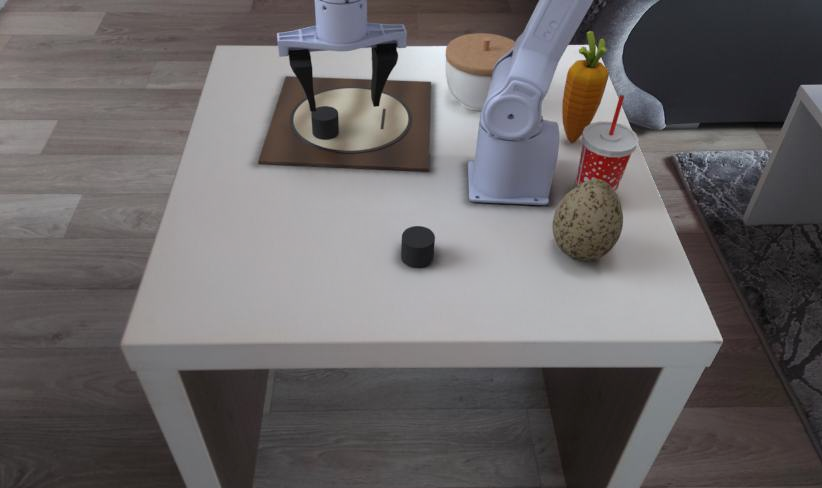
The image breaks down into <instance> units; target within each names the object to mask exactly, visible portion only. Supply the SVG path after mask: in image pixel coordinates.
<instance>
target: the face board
mask: <svg viewBox="0 0 822 488" xmlns="http://www.w3.org/2000/svg"><path fill="white" fill-rule="evenodd" d="M371 82H372V79H370V78H369V79H368V78H367V79H366V78H365V79H364V78H341V77H317V76H316V77H313V91H314V97H315V103H316V108H317V107H321V106H329V107H333V108H335V109H336V110H337V111H338V118H339V134H338V135H337V136H336V137H335V138H333V139H329V140H322V139H318V138H316V137H314V136H313V134H312V119H311V111H310V107H309V103H308V99H307V97H306V94H305V92H304V89H303V87H302V85H301V83H300V82H299V80H298V78H297V77H296V76H289V75H287V76H285V78H284V81H283V83H282V87H281V90H280V93H279V96H278V99H277V102H276V105H275V108H274V111H273V115H272V117H271V121H270V124H269V126H268V129H267V133H266V136H265V139H264V142H263V144H262V148H261V150H260V154H259V157H258V161H257V163H258V165H273V166H274V165H275V166H296V167H297V166H298V167H299V166H301V167H320V168H338V169H339V168H340V169H342V168H343V169H360V170H361V169H363V170H385V171H406V172H427V173H428V172H429V171H430V139H431V138H430V136H431V104H432V103H431V98H432V82H431V81H419V80H394V79H387V81H386V83H385V86H384V89H383V92H382V95H381V99H380V104H379V106H377V107H374V106H373V103H372V99H371Z"/></svg>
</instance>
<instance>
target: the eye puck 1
mask: <svg viewBox="0 0 822 488" xmlns="http://www.w3.org/2000/svg"><path fill="white" fill-rule="evenodd" d="M311 119H312V134H313V136H314V137H316V138H318V139H322V140H329V139H333V138H335V137H336V136H337V135H338V134H339V118H338V111H337V110H336V109H335V108H333V107H329V106H321V107H317V108H316V111H313V112H311Z"/></svg>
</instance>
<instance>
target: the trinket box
mask: <svg viewBox="0 0 822 488" xmlns="http://www.w3.org/2000/svg"><path fill="white" fill-rule="evenodd" d="M515 42H516V40H514V39H512V38H510V37H506V36H504V35H499V34H494V33H485V32H484V33H483V32H478V33H477V32H476V33H467V34H464V35H463V34H462V35H459V36H456V37H455V38H454V39H452V40H451V41H450V42H448V44H447V45H446V47H445V68H444V69H445V79H446V84H447V87H448V89H449V91H450V93H451V95H452V96H453V97H454V98H455V100H457V102H458V104H459V105H460V106H461V107H463V108H465V109H467V110H469V111H473V112H474V111H475V112H482V110H483V106H484V103H485V102H486V100H487V96H488V92H489V88H490V84H491V76H492V71H493V68H494V66H495V64H496V63H497V61H498V60H499V59H500V58H501V57H503V56H504V55H506V54H507V53H508V52H509V51H510V50H511V49H512V48H513V46H514V44H515Z"/></svg>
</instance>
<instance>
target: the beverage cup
mask: <svg viewBox="0 0 822 488" xmlns="http://www.w3.org/2000/svg"><path fill="white" fill-rule="evenodd" d="M624 99H625V95H623V94H620V95H619V97H618V101H617V104H616V106H615V107H616V108H615V111H614V114H613V118H612V121H596V122H591V123H590V124H589V125H588V126H586V127H585V128H584V131H583V133H582V136H581V137H580V138H581V142H582V146H581V152H580V155H579V156H580V157H579V161H578V168H577V172H576V177H575V182H574V183H575V185H574V188H575V187H576V186H578V185H579V184H581V183H583V182H585V181H588V180H592V179H601V180H603V181H605V182H607V183H608V184H609V185H610V186H611V187H612V188H613V190H614V191H615V193H616V194H617V191H618V188H619V186H620V183H621V181H622V178H623V176H624V173H625V170H626V168H627V166H628V163H629V162H630V158H631V156H632V154H633V153H635V152H636V148H637V146H638V143H639V140H640V139H639V137H638V134H637V133H636V132H635V131H634V130H633V129H632V128H630V127H628V126H626V125H623V124H621V123H618V119H619V116H620V112H621V110H622V105H623V102H624Z"/></svg>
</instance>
